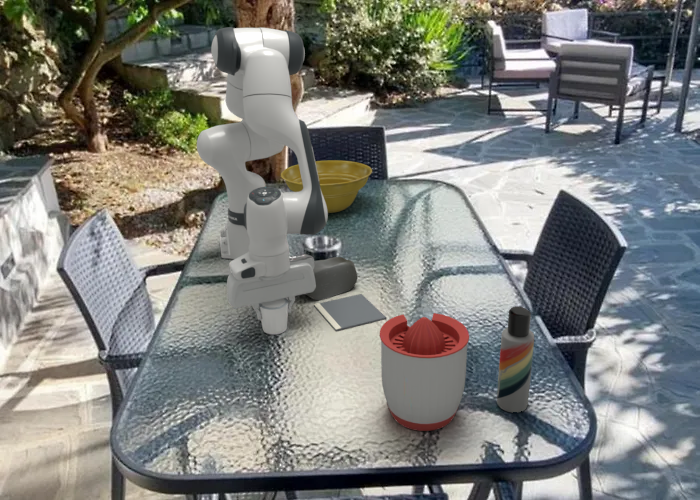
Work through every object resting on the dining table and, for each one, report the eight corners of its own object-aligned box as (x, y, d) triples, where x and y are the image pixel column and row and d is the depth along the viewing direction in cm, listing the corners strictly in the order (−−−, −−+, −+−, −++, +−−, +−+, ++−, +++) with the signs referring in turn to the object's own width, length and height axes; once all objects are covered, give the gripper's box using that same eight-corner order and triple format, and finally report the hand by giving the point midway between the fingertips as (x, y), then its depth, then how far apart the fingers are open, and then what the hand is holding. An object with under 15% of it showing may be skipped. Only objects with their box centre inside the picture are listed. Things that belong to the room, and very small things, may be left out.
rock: (342, 272, 176) (341, 246, 173) (365, 287, 167) (364, 259, 164) (283, 289, 168) (281, 262, 164) (303, 306, 159) (301, 277, 156)
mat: (314, 305, 158) (313, 304, 158) (361, 295, 163) (361, 293, 163) (335, 331, 146) (335, 329, 146) (386, 318, 151) (386, 317, 151)
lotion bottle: (492, 396, 122) (499, 303, 114) (521, 394, 122) (530, 301, 115) (501, 414, 117) (509, 318, 109) (532, 412, 117) (541, 316, 109)
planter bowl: (270, 201, 236) (268, 166, 231) (349, 189, 248) (348, 155, 243) (302, 228, 209) (299, 189, 204) (388, 213, 221) (388, 175, 216)
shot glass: (285, 337, 145) (283, 310, 142) (256, 334, 146) (254, 307, 143) (293, 321, 151) (291, 295, 148) (265, 319, 152) (263, 293, 149)
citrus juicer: (454, 381, 127) (458, 291, 119) (473, 438, 111) (479, 338, 103) (376, 384, 127) (375, 294, 119) (383, 442, 110) (383, 342, 103)
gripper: (308, 247, 148) (311, 300, 153) (221, 263, 140) (227, 318, 146) (318, 257, 142) (321, 311, 148) (228, 275, 135) (234, 331, 141)
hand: (274, 315), depth 147 cm, fingers open, 5 cm apart
